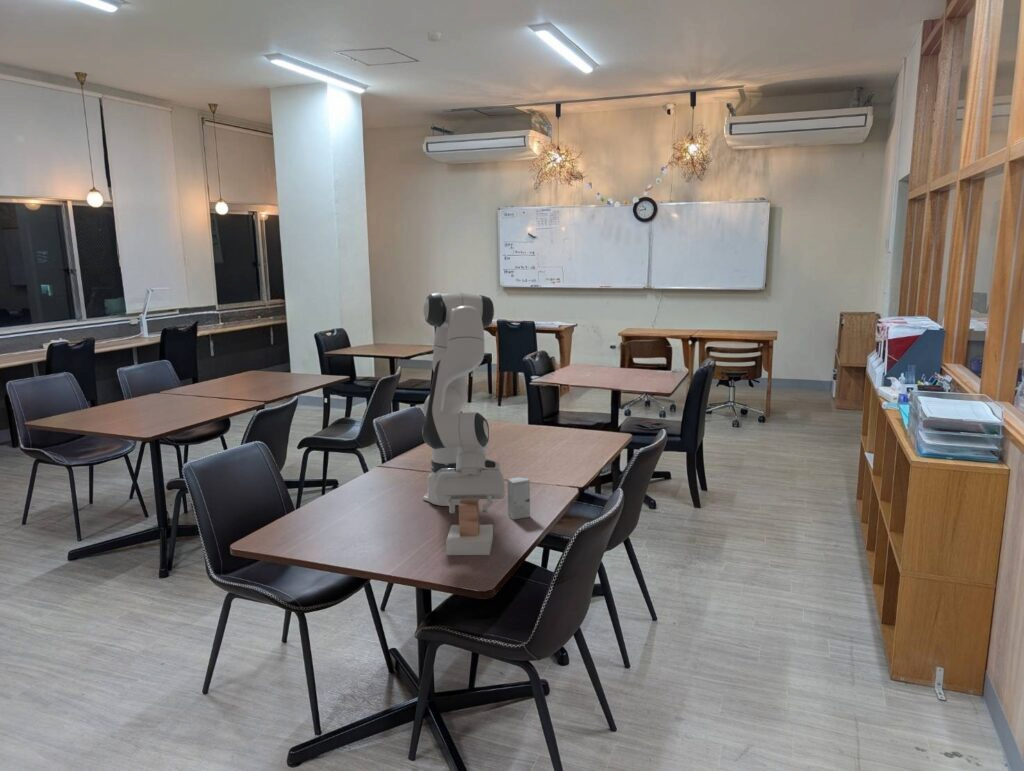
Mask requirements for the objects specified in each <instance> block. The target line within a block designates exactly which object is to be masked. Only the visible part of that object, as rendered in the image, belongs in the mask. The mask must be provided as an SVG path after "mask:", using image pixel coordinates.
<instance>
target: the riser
mask: <svg viewBox="0 0 1024 771" xmlns="http://www.w3.org/2000/svg"><path fill="white" fill-rule="evenodd" d="M493 527H494V525H493V524H479V533H478V536H460V527H459V524H451V526H450V528H449V531H448V534H447V537H446V539H445V553H446V556H490V555H491V550H492V545H493V539H494V528H493Z"/></svg>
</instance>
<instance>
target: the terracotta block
mask: <svg viewBox="0 0 1024 771" xmlns="http://www.w3.org/2000/svg"><path fill="white" fill-rule="evenodd" d="M479 510H480V509H479V499H477V500H460V503H459V505H458V523H459V524H458V525H459V527H460V536H478V533H479V525H480V515H479V514H480V513H479V512H480V511H479Z"/></svg>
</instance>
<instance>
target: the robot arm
mask: <svg viewBox="0 0 1024 771" xmlns="http://www.w3.org/2000/svg"><path fill="white" fill-rule="evenodd" d="M422 309H423V315H424V319H425V322H426V323H427V324H428V325H429V326H432V327H435V331H434V332H435V333H434V339H433V340H434V341H433V351H432V365H431V366H432V367H431V368H432V371H433V375H432V381H431V385H430V386H431V387H430V392H429V394H428V396H427V397H426V399H425V401H424V403H423V406H422V407H423V408H422V410H423V415H424V421H423V425H422V430H421V431H422V439H423V441H424V443H425V444H426V445H427V446H429V447H430V448H431V457H432V458H431V460H430V462H431V463H430V466H431V473H429V475H428V476H427V493H426V494H424V495H423V497H422V500H423V501H426V502H429V503H431V504H433V505H434V506H435V505H437V506H442V507H448V511H449V512H448V513H449V514H456V506H459V503H460V500H486V501H487V502H486V504H482V513H483V514H489V508H490V507H491V506H492V503H493V500H503V499H504V498H505V497H506V487H505V481H504V480H505V479H504V475H503V473H502V467H501V464H500V462H498V461H495V460H491V459H488V457H487V454H486V453H487V449H488V443H489V440H490V439H489V438H490V427H489V426H490V425H489V422H488V420H487V419H486V418H485V417H484V416H483V415H482V414H481V413H479V412H476V411H475V412H472V411H470V412H463V410H465V408H466V405H467V402H468V393H467V392H468V387H467V386H468V384H467V374H470V373H472V372H474V370H476V369H477V368H478V367H479V366H480V365H481V363H482V362H483V360H484V356H485V332H484V330H485V329H486V328H488V327H489V326H490V325H492V322H493V321H494V320H493V319H494V316H495V307H494V303H493V301H492V299H491V298H490V297H488V296H485V295H482V294H479V295H477V294H472V293H465V292H460V293H458V292H455V293H454V292H448V293H447V292H445V293H441V292H434V293H430V294H429V295H428V296H427V297H426V299H425V302H424V304H423V308H422Z"/></svg>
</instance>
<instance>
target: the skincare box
mask: <svg viewBox="0 0 1024 771" xmlns="http://www.w3.org/2000/svg"><path fill="white" fill-rule="evenodd" d="M506 480H507V509H508V510H507V516H508V517H509V518H511V519H512V520H518V519H525V518H529V517H530V516H531V498H530V497H531V496H530V495H531V494H530V491H531V489H530V486H531V485H530V484H531V483H530V479H529V478H527V477H525V476H520V477H513V478H508V479H506Z"/></svg>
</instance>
